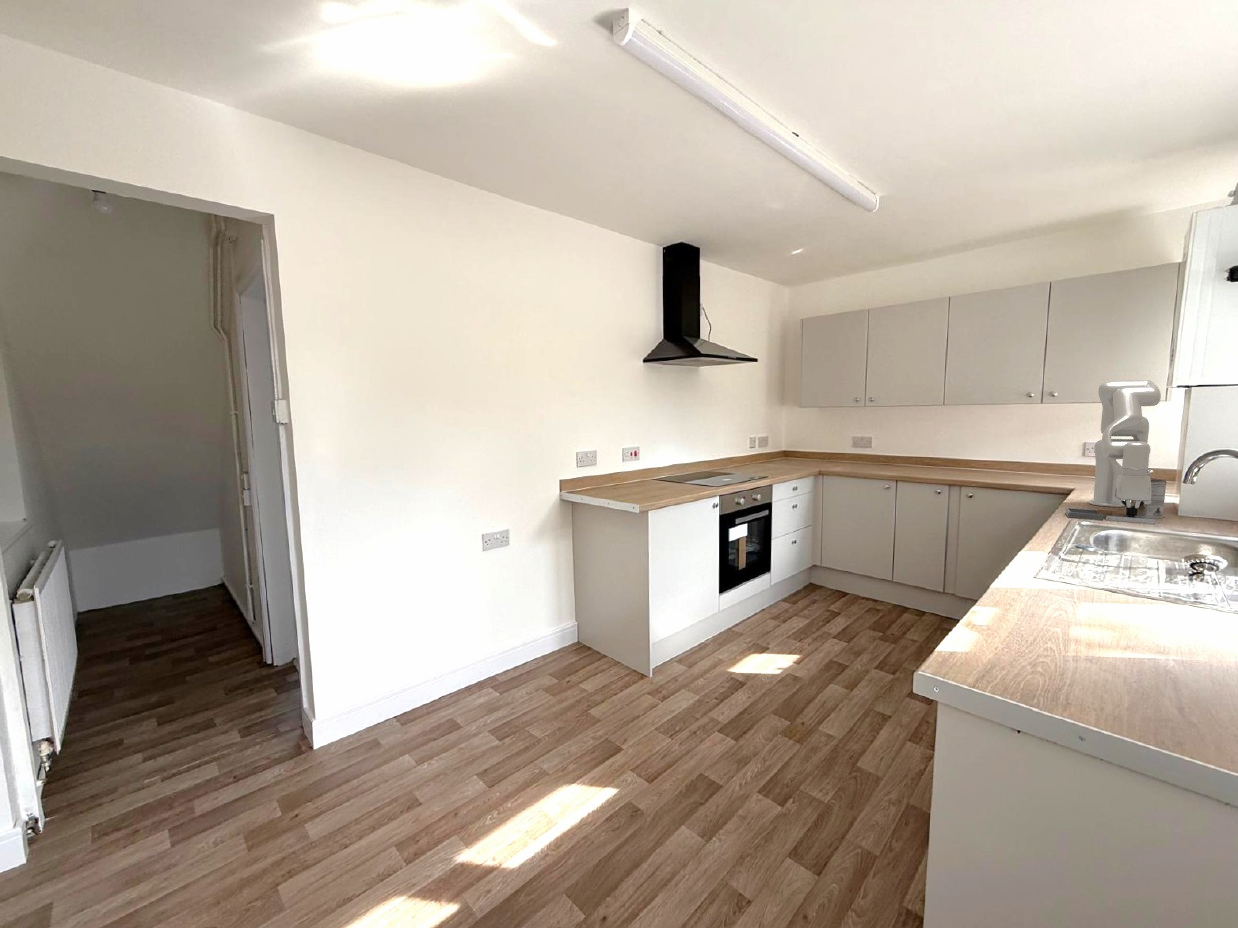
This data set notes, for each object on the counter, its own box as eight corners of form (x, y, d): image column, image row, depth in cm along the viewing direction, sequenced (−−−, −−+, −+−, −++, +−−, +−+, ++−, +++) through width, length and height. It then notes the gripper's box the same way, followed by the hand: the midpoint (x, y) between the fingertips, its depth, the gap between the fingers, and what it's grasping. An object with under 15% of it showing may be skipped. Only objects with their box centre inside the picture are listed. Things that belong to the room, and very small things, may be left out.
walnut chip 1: (1096, 517, 215) (1097, 507, 215) (1109, 517, 213) (1110, 508, 212) (1098, 518, 212) (1099, 509, 212) (1111, 519, 209) (1112, 510, 209)
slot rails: (1102, 516, 216) (1102, 512, 216) (1148, 519, 208) (1148, 515, 208) (1105, 520, 209) (1106, 515, 208) (1154, 523, 200) (1154, 519, 200)
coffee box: (1128, 513, 220) (1131, 477, 219) (1146, 514, 219) (1149, 477, 218) (1146, 517, 211) (1149, 480, 210) (1164, 518, 210) (1167, 480, 209)
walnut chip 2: (1109, 517, 213) (1110, 508, 212) (1123, 518, 210) (1123, 509, 210) (1111, 519, 209) (1112, 510, 209) (1125, 520, 207) (1125, 511, 207)
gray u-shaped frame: (1065, 513, 224) (1065, 507, 224) (1098, 515, 218) (1098, 510, 217) (1068, 517, 215) (1068, 512, 214) (1103, 520, 208) (1103, 514, 208)
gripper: (1158, 472, 204) (1154, 517, 206) (1107, 471, 213) (1104, 513, 215) (1163, 474, 198) (1159, 520, 200) (1111, 472, 207) (1108, 516, 209)
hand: (1131, 516), depth 207 cm, fingers closed
